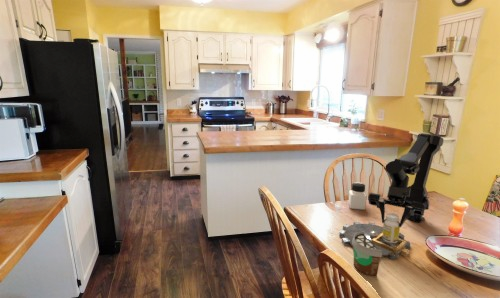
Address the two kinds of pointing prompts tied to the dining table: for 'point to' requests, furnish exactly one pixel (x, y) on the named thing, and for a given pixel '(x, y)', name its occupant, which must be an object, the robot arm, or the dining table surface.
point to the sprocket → (375, 239)
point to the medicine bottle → (357, 196)
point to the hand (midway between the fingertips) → (391, 224)
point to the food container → (365, 255)
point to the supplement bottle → (391, 228)
